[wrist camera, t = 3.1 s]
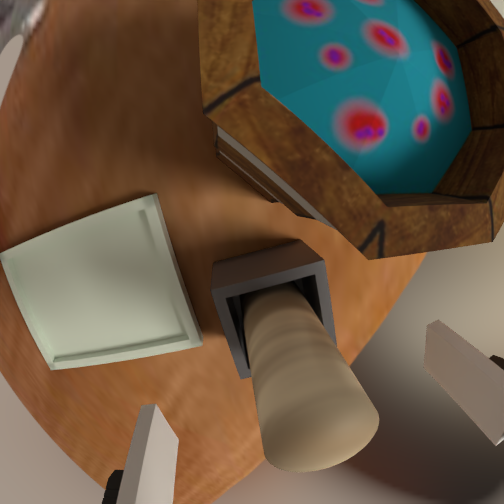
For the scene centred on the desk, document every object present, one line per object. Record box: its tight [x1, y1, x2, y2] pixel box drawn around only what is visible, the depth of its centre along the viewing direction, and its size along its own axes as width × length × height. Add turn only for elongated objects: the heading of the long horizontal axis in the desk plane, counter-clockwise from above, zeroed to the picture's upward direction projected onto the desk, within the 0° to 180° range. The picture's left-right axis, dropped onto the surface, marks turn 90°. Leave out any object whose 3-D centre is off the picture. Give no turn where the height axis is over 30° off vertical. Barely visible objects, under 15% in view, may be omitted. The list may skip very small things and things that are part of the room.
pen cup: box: [210, 240, 337, 379], centre depth 20 cm, size 7×7×6 cm
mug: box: [197, 0, 504, 260], centre depth 12 cm, size 20×14×15 cm
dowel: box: [240, 280, 379, 472], centre depth 16 cm, size 4×4×14 cm
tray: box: [0, 193, 203, 370], centre depth 21 cm, size 12×16×1 cm
